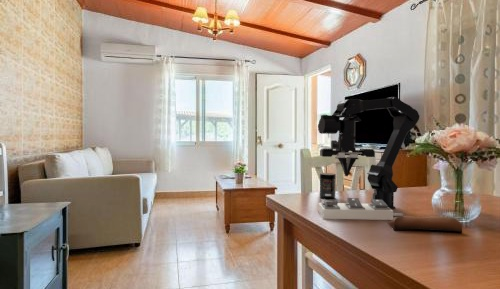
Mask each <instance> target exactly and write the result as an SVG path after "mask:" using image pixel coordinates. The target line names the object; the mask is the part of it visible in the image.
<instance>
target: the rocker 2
mask: <svg viewBox="0 0 500 289" xmlns="http://www.w3.org/2000/svg"><path fill="white" fill-rule="evenodd" d="M370 202H371V203H370V204H373V205H374V206H375V207H376V208H388V205H387V204H386V203H385V202H384V201H383V200H375V199H373V198H371V200H370Z"/></svg>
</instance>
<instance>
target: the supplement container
mask: <svg viewBox="0 0 500 289" xmlns="http://www.w3.org/2000/svg"><path fill="white" fill-rule="evenodd" d="M336 178H337V176H336V173H333V172H321V173H319V197H320V199H323V200H324V199H325V200H333V199H335V198H336V180H337V179H336Z"/></svg>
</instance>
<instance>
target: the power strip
mask: <svg viewBox="0 0 500 289" xmlns="http://www.w3.org/2000/svg"><path fill="white" fill-rule="evenodd" d="M337 203H338V205H326V204H324V202H318V205H317V208H318V210H317V211H318V213H319V215H320V216H321V218H322V219H323V220H324V219H325V220H326V219H327V220H371V221H374V220H375V221H376V220H377V221H383V220H384V221H393V220H394V217H401V216H404V213H402V212H394V210H393V209H392V208H389V207H388V208H376V207H375V206H374V205H373V204H372V203H361V205H362V208H350V206H349V203H348V202H347V203H345V202H337Z"/></svg>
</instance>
